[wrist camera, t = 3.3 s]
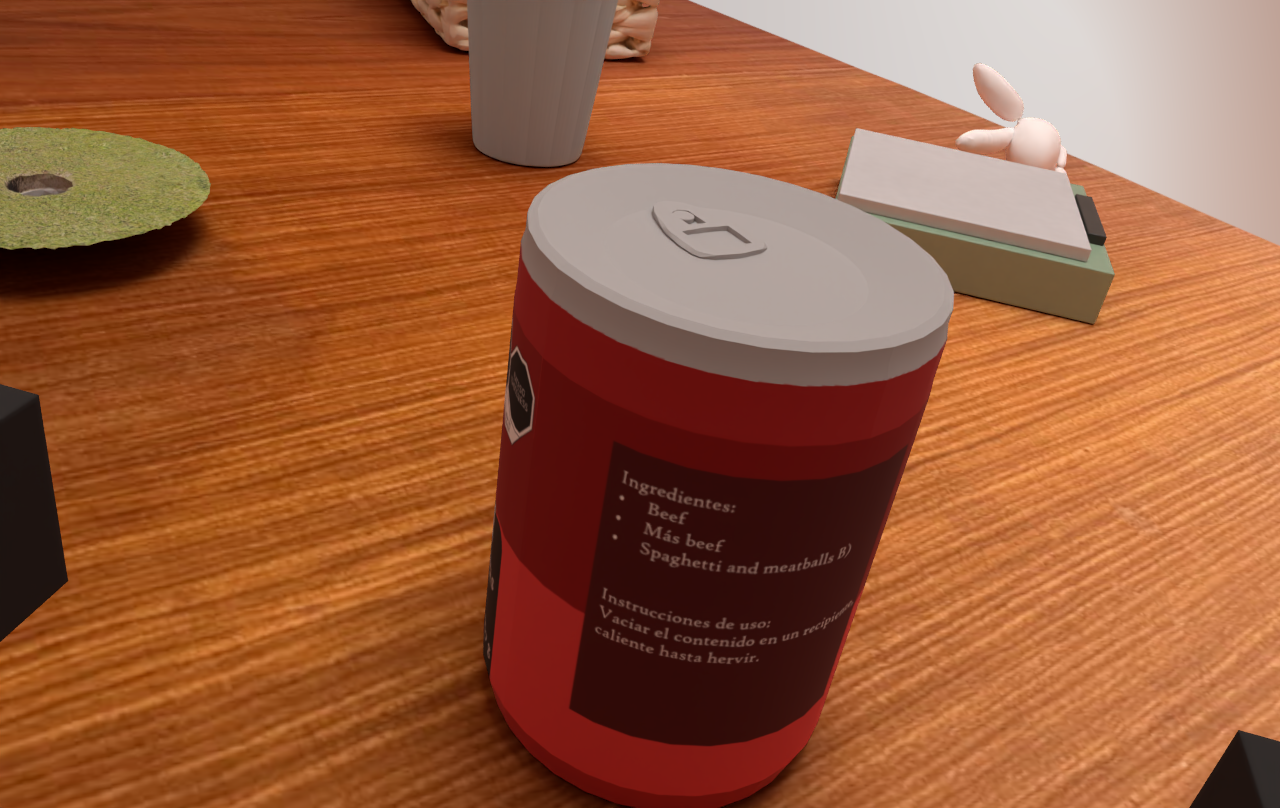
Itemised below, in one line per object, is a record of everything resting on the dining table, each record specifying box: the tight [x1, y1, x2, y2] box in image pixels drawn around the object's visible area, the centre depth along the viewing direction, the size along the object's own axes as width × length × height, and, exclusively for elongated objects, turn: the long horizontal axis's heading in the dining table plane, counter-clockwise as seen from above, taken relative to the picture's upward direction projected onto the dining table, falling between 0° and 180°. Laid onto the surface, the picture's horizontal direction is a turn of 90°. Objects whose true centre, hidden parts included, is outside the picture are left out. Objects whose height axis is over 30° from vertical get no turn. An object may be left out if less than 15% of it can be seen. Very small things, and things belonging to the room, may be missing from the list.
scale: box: [835, 128, 1115, 324], centre depth 52 cm, size 12×12×3 cm
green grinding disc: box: [0, 127, 211, 250], centre depth 39 cm, size 11×11×2 cm
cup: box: [467, 0, 618, 167], centre depth 52 cm, size 8×8×10 cm
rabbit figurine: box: [956, 63, 1067, 174], centre depth 62 cm, size 6×4×8 cm
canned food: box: [483, 163, 954, 808], centre depth 22 cm, size 8×8×11 cm
